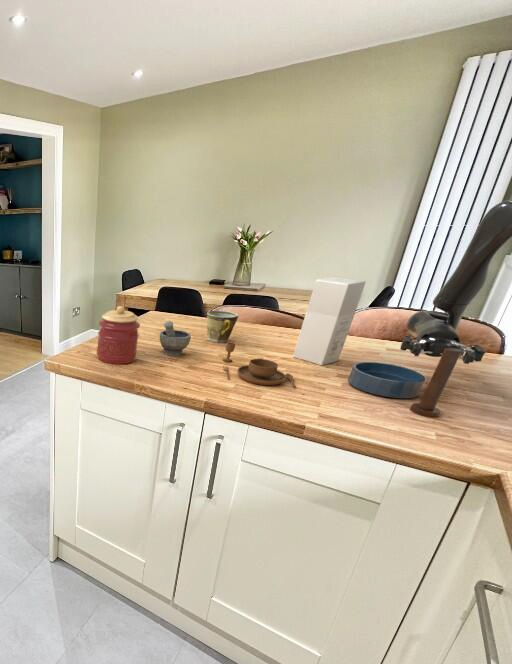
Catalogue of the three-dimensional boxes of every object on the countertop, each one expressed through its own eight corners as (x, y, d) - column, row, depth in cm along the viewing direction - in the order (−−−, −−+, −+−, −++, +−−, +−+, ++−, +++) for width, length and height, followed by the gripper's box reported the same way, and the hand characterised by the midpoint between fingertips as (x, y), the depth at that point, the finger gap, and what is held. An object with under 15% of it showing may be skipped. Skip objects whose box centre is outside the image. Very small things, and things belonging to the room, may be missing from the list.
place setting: (227, 382, 114) (231, 363, 111) (220, 358, 131) (223, 341, 128) (299, 390, 108) (306, 370, 105) (282, 364, 125) (287, 346, 122)
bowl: (415, 386, 108) (423, 369, 106) (418, 405, 98) (427, 387, 96) (348, 374, 117) (354, 358, 114) (345, 390, 107) (351, 373, 105)
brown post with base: (438, 411, 95) (468, 348, 89) (439, 419, 92) (471, 354, 85) (409, 405, 98) (436, 344, 92) (410, 413, 95) (438, 350, 88)
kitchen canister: (121, 368, 126) (127, 313, 119) (88, 357, 135) (91, 306, 128) (143, 357, 134) (150, 305, 126) (110, 348, 143) (115, 299, 135)
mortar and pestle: (167, 346, 143) (172, 313, 138) (192, 353, 136) (199, 319, 131) (149, 353, 137) (153, 319, 132) (174, 361, 130) (180, 325, 125)
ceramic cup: (198, 335, 153) (203, 310, 149) (226, 336, 152) (232, 310, 147) (210, 346, 141) (215, 319, 137) (240, 347, 140) (246, 319, 136)
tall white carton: (309, 352, 133) (333, 276, 123) (338, 360, 126) (366, 281, 116) (292, 357, 130) (315, 279, 120) (321, 365, 123) (348, 284, 112)
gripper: (406, 321, 110) (408, 336, 99) (482, 330, 101) (494, 347, 90) (395, 347, 113) (396, 364, 102) (469, 357, 104) (479, 377, 93)
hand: (442, 356), depth 96 cm, fingers open, 8 cm apart
